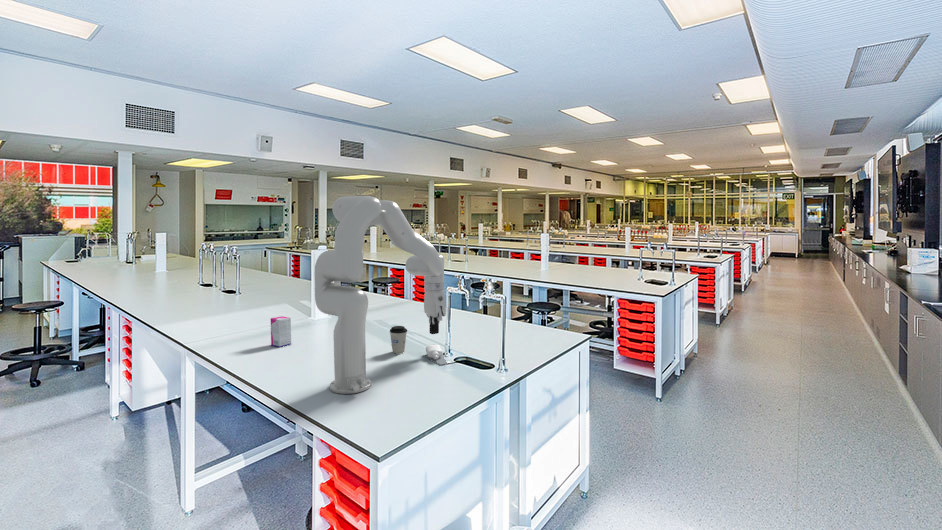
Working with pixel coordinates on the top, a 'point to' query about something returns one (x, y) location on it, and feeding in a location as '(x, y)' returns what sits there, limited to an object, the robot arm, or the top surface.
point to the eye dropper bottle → (433, 351)
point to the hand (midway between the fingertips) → (434, 333)
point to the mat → (438, 360)
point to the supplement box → (280, 331)
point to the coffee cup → (398, 338)
